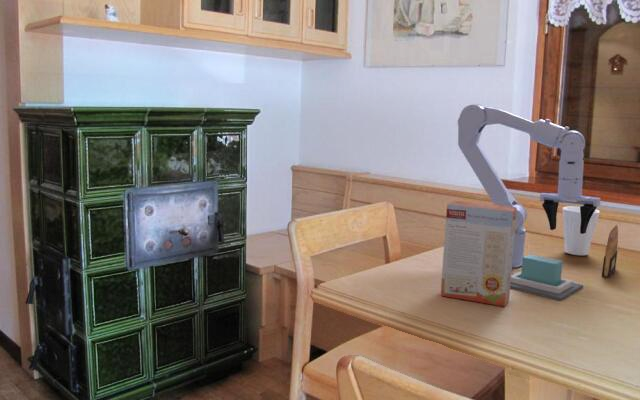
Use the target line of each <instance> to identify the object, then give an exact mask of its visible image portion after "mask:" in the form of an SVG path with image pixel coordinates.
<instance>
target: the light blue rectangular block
mask: <svg viewBox="0 0 640 400" xmlns="http://www.w3.org/2000/svg"><path fill="white" fill-rule="evenodd" d="M563 262H564V261H563V260H559V259H555V258H554V259H553V258H550V257H545V256H540V255H534V254H530V253H529V254H527V255H525V256H524V255H523V260H522V266H521V271H520V272H521V278H522V279H526V280H530V281H535V282H539V283H543V284H547V285H552V286H556V287H557V286H559V285H560V282H561V278H562V272H563Z"/></svg>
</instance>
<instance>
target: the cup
mask: <svg viewBox="0 0 640 400" xmlns="http://www.w3.org/2000/svg"><path fill="white" fill-rule="evenodd" d="M580 207H581V206H571V205H570V206H568V205H567V206H563V207H562V208H561V209H562V217H563V235H564V236H563V240H564V253H566V254H570V255H573V256H587V255H588V254H589V251H590V247H591V244H592V241H593V238H594V233H595V229H596V227H597V223H598V219H599V217H600V210H598V209H596V210H595V211H594V213H593V215H592V216H591V218H590V221H589V223H588V226H587V229H586V233H584V234H580V226H581V212H580Z"/></svg>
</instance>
